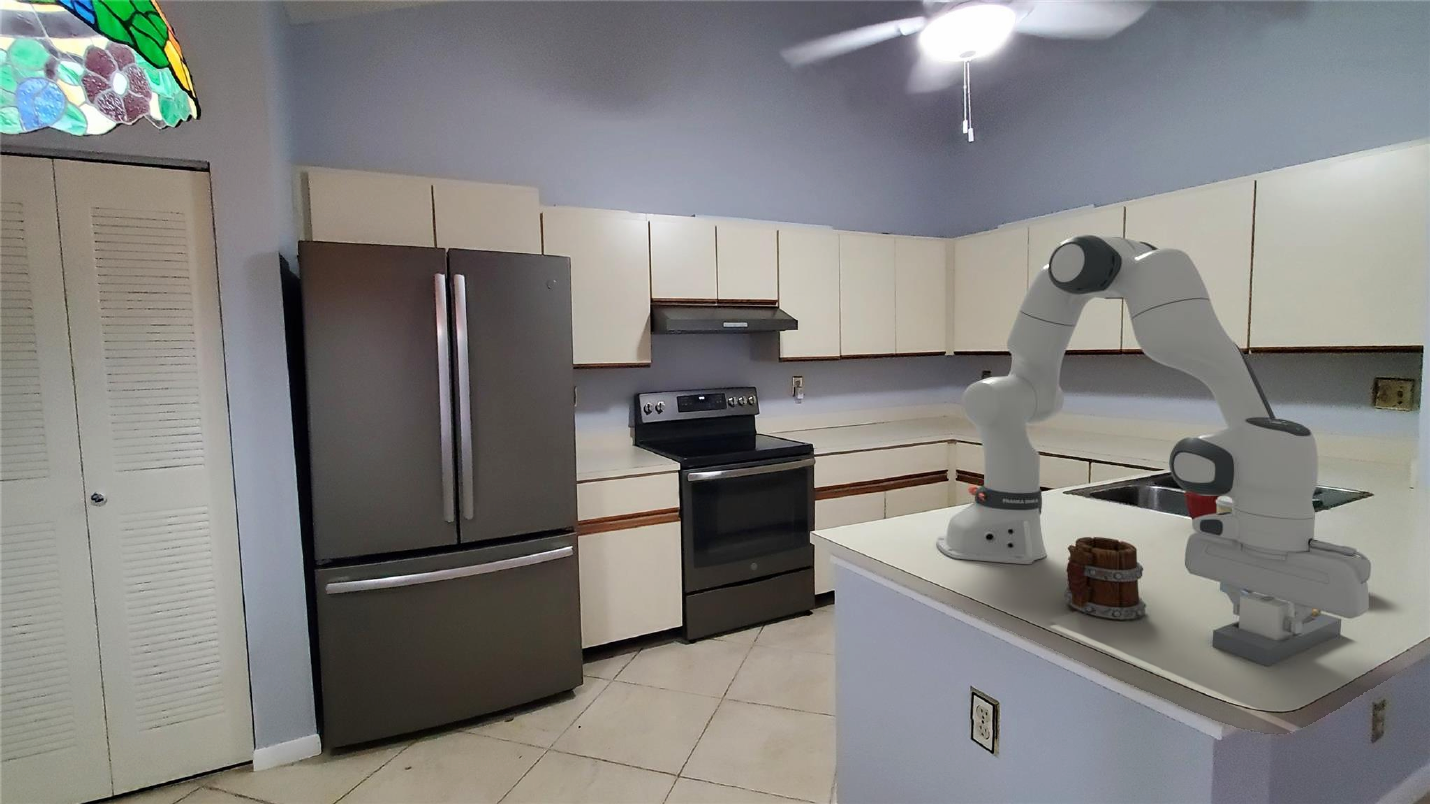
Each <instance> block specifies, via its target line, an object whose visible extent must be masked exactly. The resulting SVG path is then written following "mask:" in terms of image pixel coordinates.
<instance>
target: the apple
mask: <svg viewBox="0 0 1430 804" xmlns="http://www.w3.org/2000/svg"><path fill="white" fill-rule="evenodd" d="M1184 496H1185V498H1184V499H1185V507H1186V509H1187V511H1188V513H1189V516H1190V518H1191V520H1192V521H1191V522H1193V519H1195V518H1197V517H1200V516H1204V515H1209V514H1215V513H1217V504H1216V500H1217V499H1218V497H1220V496H1224V495H1217V496H1203V495H1198V494H1193V493H1189V492H1187V491H1186V490H1185V491H1184Z"/></svg>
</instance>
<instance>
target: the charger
mask: <svg viewBox="0 0 1430 804" xmlns="http://www.w3.org/2000/svg"><path fill="white" fill-rule="evenodd" d="M1294 611H1295V610H1294V603H1292V602H1288V601H1285V600H1281V599H1278V598H1274V597H1271V596H1267V595H1264V594H1260V593H1257V592H1252V593H1249V594H1246V595H1243V596H1240V614H1239V616H1238V617H1239V620H1238V621H1239V628H1240V629H1243V630H1246V631H1249V632H1252V633H1255V634H1258V635H1261V636H1264V637H1267V638H1270V639H1273V640H1276V641H1279V642H1282V641H1285V640H1287V639H1289V638H1292V637H1293V633H1291V632H1288V631H1285V630H1283V625H1284V624H1283V619H1284V618H1287V617H1289V616H1290V617H1294Z"/></svg>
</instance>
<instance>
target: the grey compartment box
mask: <svg viewBox="0 0 1430 804" xmlns="http://www.w3.org/2000/svg"><path fill="white" fill-rule="evenodd" d="M1298 612H1299V611H1294V616H1295V615H1296V614H1297V613H1298ZM1341 629H1342V618H1338V617H1335V616H1332V615H1330V614H1329V615H1328V614H1325V613H1322V612H1321V613H1319V610H1317V609H1314V611H1313V612H1312V613H1311V614H1310V615H1309V616H1308V617H1307V618H1305V619H1304V620H1303V621H1302V630H1301V632H1300V633H1298V634H1294V633H1293V637H1292V638H1289V639H1287V640H1285V641H1282V642H1279V641H1276V640H1273V639H1270V638H1267V637H1264V636H1261V635H1258V634H1255V633H1252V632H1249V631H1246V630H1243V629H1240V628H1239V620H1237V621H1235V622H1232V623H1230V624H1227V625H1224V626H1222V627H1221V626H1220V627H1219V628H1216V629H1213V631H1212V644H1211V646H1212V647H1214V648H1216V649H1219V650H1223V651H1225V652H1227V653H1230V654H1232V655H1235V656H1238V657H1240V658H1243V659H1246V660H1249V661H1252V662H1255V663H1257V664H1260V665H1263V666H1265V667H1269V666H1273V665H1276V664H1277V663H1280V662H1282V661H1284V660H1286V659H1288V658H1290V657H1294V656H1295V655H1297V654H1300V653H1302V652H1305V651H1307V650H1309V649H1311V648H1313V647H1315V646H1318V645H1320V644H1322V643H1325V642H1327V641H1329V640H1332V639H1334V638H1335V637H1339V636H1340V635H1341V631H1342V630H1341Z"/></svg>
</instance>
